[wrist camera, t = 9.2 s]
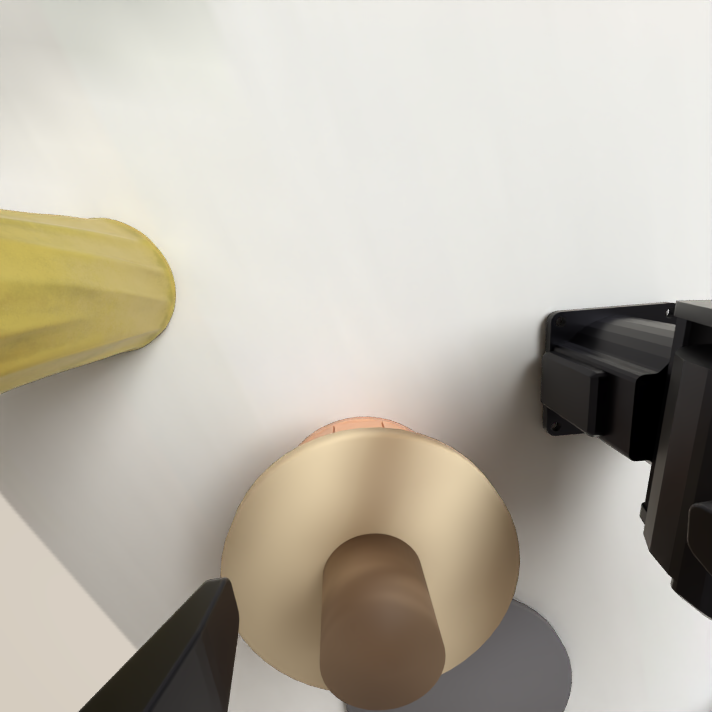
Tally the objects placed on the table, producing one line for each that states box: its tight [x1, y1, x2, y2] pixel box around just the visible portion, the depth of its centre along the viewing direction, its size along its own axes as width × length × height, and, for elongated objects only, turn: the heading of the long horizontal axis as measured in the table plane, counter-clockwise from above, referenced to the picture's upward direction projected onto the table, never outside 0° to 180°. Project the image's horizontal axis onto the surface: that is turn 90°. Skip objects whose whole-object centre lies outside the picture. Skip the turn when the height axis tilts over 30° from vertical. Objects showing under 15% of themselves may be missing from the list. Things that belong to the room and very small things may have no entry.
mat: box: [347, 599, 572, 712], centre depth 25 cm, size 14×14×1 cm
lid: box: [221, 427, 520, 710], centre depth 15 cm, size 12×12×4 cm
